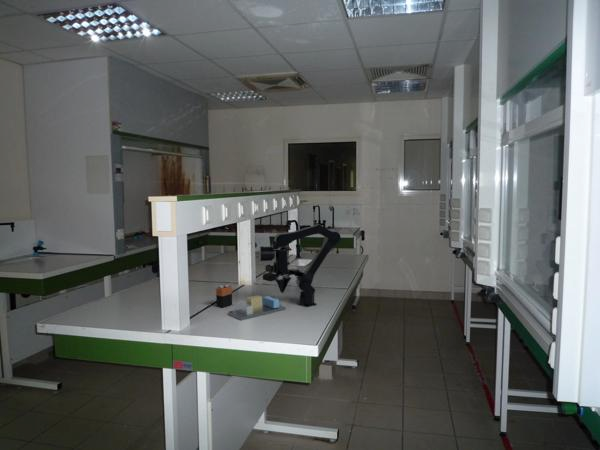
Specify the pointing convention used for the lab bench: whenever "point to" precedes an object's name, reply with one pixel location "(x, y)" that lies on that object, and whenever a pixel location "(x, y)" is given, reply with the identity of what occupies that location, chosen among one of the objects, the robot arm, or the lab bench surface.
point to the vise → (246, 311)
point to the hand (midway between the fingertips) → (282, 292)
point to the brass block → (255, 302)
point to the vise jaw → (270, 301)
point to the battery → (224, 296)
